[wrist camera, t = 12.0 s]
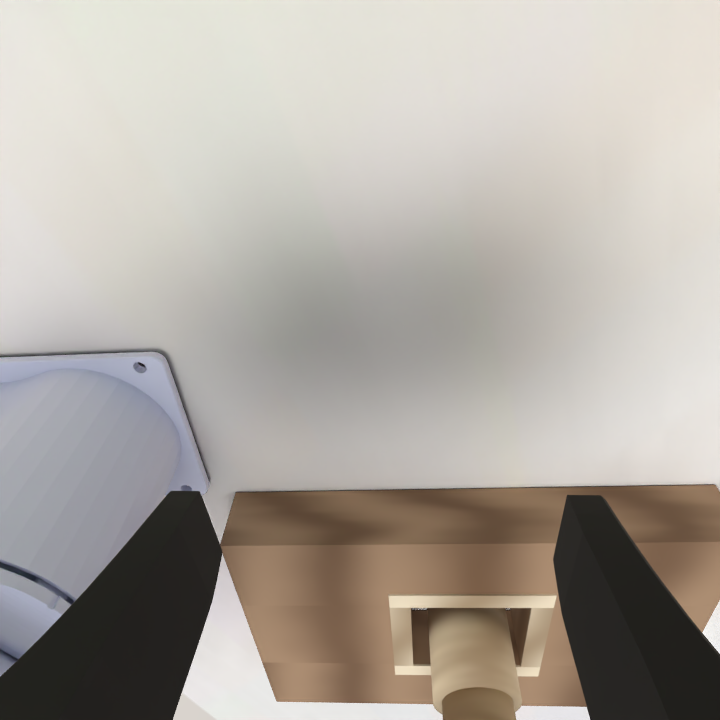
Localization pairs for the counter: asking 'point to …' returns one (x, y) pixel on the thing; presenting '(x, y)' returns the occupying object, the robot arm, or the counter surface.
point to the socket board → (437, 579)
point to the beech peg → (472, 664)
